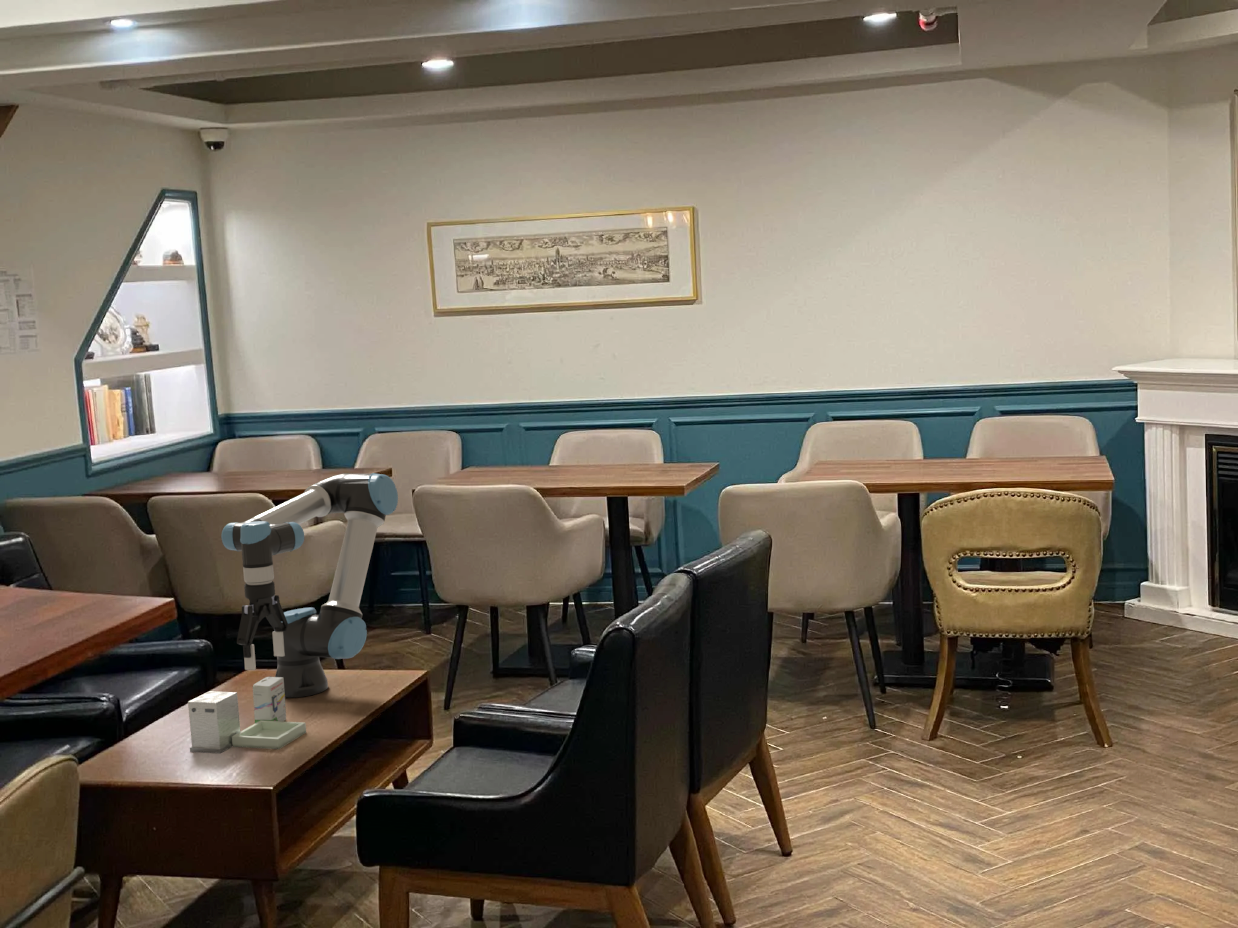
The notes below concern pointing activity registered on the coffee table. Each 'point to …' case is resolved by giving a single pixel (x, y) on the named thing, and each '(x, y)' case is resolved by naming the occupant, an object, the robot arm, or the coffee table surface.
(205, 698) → the unit
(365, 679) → the coffee table surface
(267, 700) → the ink box
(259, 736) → the tray
